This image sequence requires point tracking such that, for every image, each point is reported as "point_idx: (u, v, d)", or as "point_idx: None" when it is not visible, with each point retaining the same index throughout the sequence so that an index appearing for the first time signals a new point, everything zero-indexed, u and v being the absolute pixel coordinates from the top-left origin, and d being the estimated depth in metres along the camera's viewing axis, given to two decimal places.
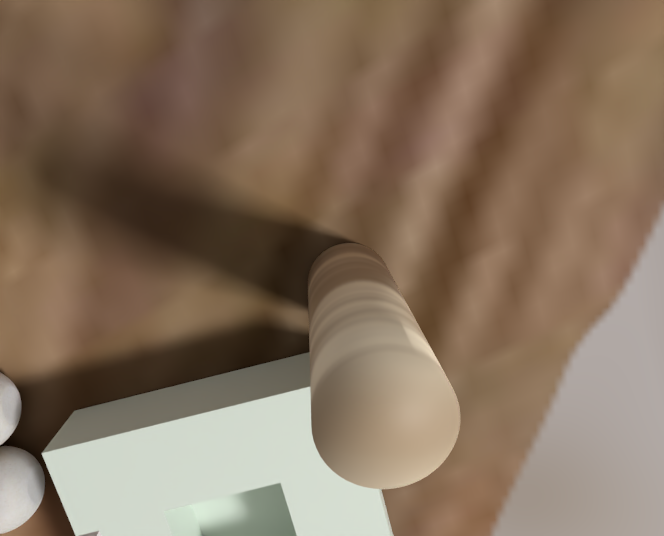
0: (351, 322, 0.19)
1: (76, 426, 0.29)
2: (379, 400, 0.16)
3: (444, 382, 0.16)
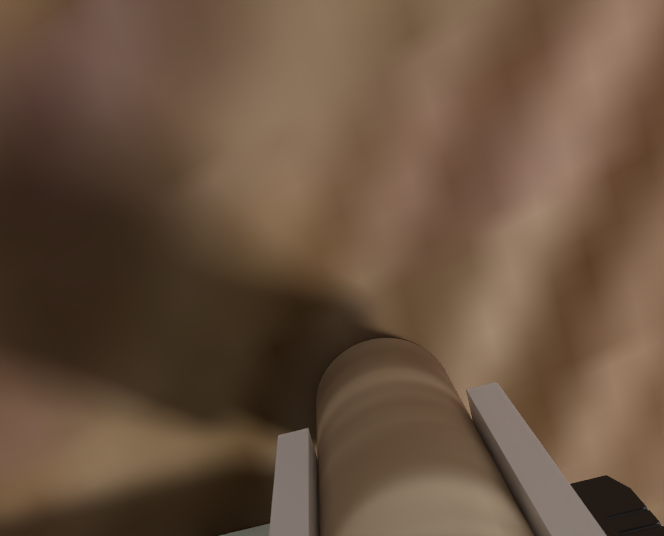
0: None
1: None
2: None
3: None
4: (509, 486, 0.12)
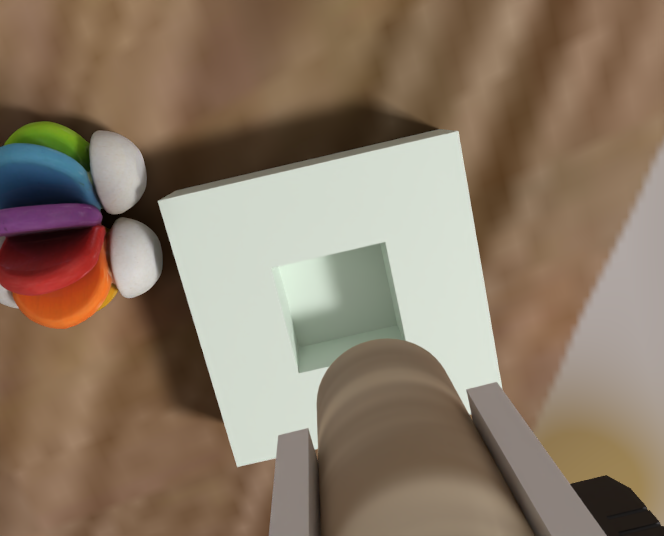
0: None
1: (184, 191, 0.30)
2: None
3: None
4: (509, 486, 0.12)
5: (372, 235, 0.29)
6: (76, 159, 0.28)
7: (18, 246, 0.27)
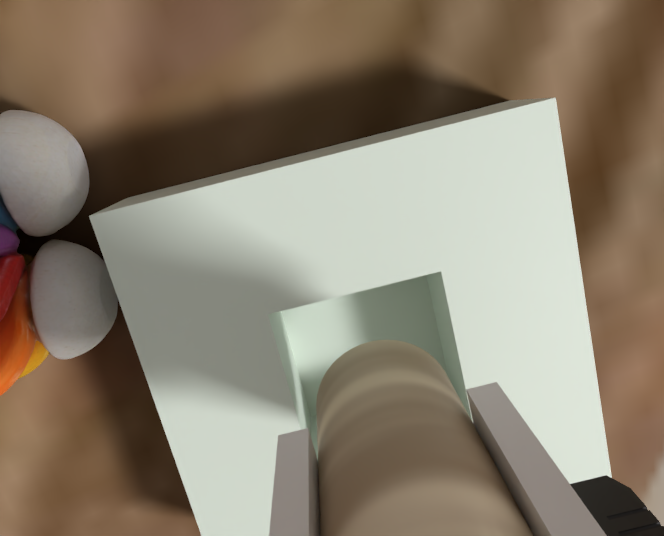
0: None
1: (135, 199, 0.20)
2: None
3: None
4: (509, 486, 0.12)
5: (421, 261, 0.19)
6: None
7: None
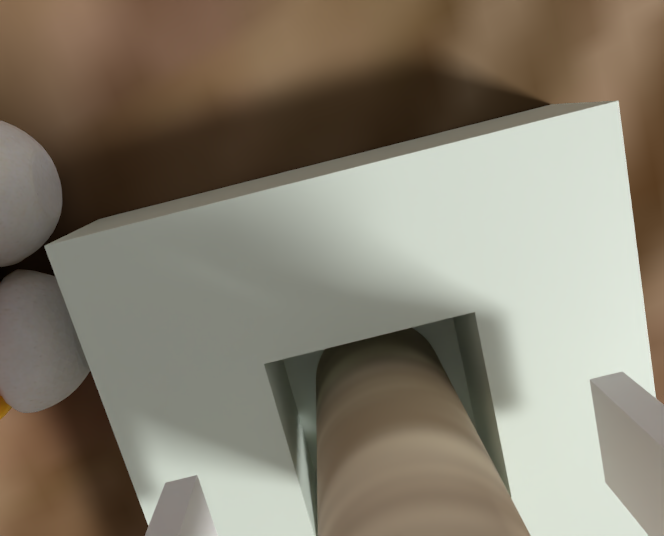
0: None
1: (105, 223, 0.17)
2: None
3: None
4: None
5: (451, 300, 0.15)
6: None
7: None
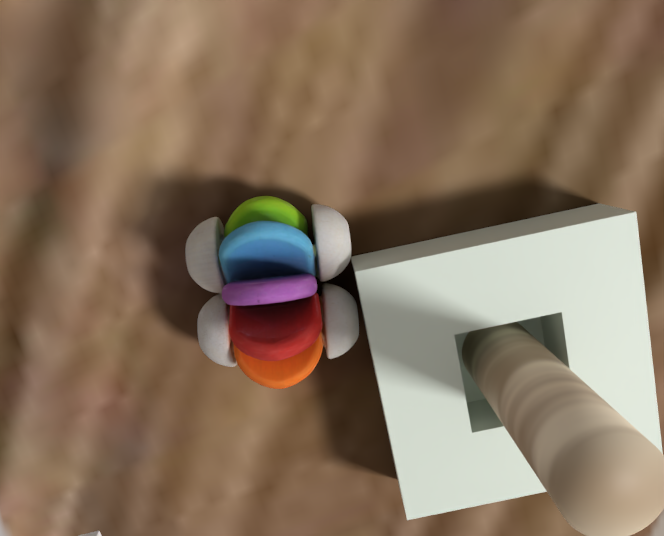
0: (565, 402, 0.23)
1: (368, 260, 0.32)
2: (611, 469, 0.21)
3: (662, 458, 0.21)
4: None
5: (550, 306, 0.31)
6: None
7: (249, 312, 0.30)
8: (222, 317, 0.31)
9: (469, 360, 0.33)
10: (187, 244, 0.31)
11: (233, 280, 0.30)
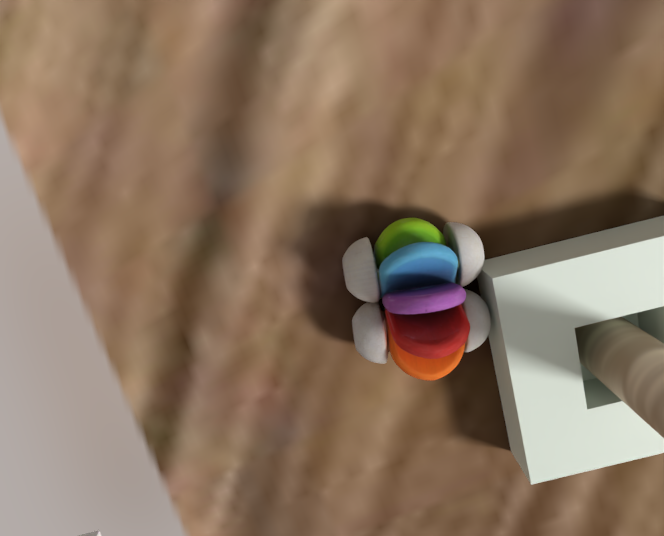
0: None
1: (496, 266, 0.37)
2: None
3: None
4: None
5: (655, 301, 0.36)
6: None
7: (406, 318, 0.35)
8: (379, 323, 0.36)
9: (580, 348, 0.39)
10: (346, 262, 0.36)
11: (388, 291, 0.36)
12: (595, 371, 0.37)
